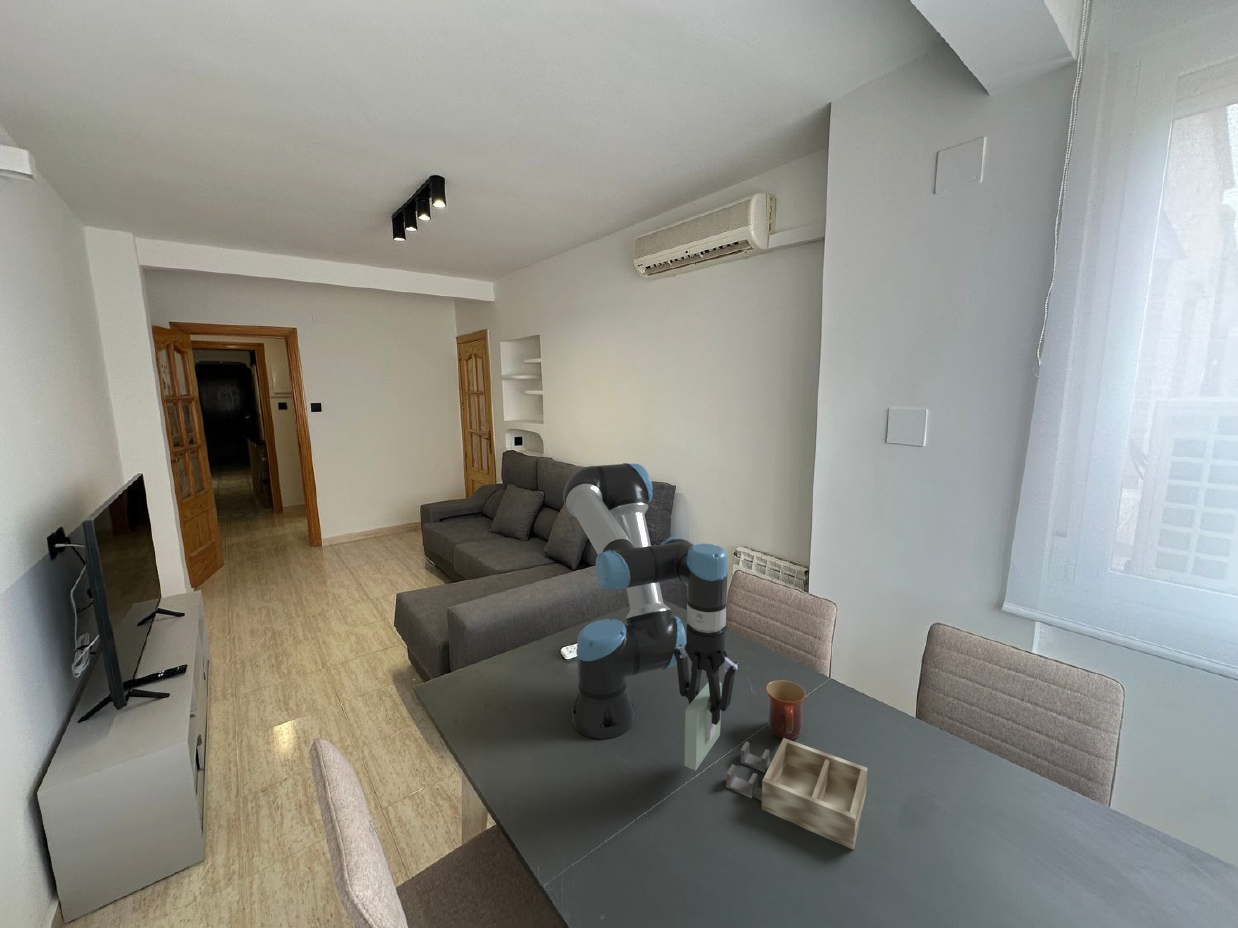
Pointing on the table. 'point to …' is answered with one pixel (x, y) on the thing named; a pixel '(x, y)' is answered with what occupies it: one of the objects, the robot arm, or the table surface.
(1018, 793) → the table surface
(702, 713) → the block
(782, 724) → the mug
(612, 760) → the table surface
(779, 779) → the wooden divided box
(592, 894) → the table surface
